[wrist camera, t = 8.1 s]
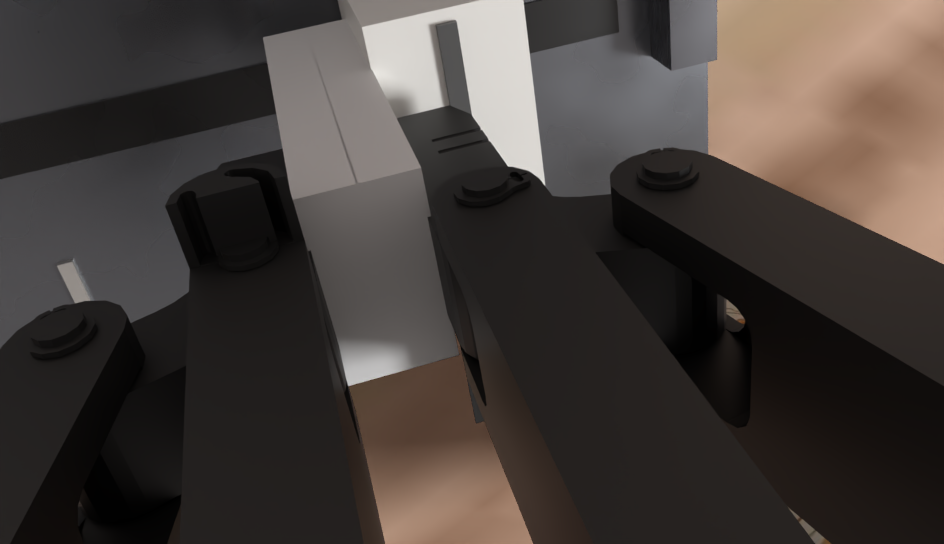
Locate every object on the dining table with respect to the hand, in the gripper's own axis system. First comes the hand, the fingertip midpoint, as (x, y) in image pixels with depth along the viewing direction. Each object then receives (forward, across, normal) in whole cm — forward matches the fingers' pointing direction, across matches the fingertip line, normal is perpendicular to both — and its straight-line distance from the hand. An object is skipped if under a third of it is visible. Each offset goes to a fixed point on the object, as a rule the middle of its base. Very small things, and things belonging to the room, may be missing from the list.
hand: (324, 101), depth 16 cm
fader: (+1, +2, 0) cm, 2 cm away
